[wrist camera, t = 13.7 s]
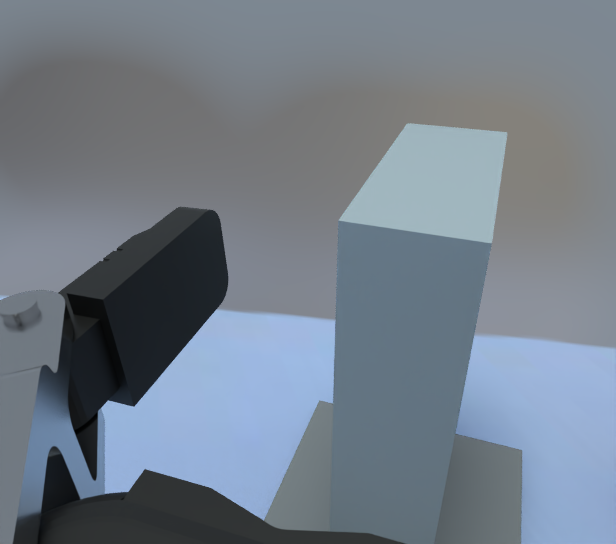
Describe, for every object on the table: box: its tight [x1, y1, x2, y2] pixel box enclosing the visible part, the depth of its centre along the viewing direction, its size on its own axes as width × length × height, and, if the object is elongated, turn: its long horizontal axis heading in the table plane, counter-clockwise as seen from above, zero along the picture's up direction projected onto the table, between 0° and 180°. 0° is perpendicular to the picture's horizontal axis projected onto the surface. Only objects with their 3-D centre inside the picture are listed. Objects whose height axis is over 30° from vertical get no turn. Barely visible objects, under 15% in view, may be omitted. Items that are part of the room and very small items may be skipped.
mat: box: [264, 401, 522, 544], centre depth 28 cm, size 12×12×1 cm
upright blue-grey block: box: [330, 123, 507, 544], centre depth 23 cm, size 4×10×18 cm, turn 161°
